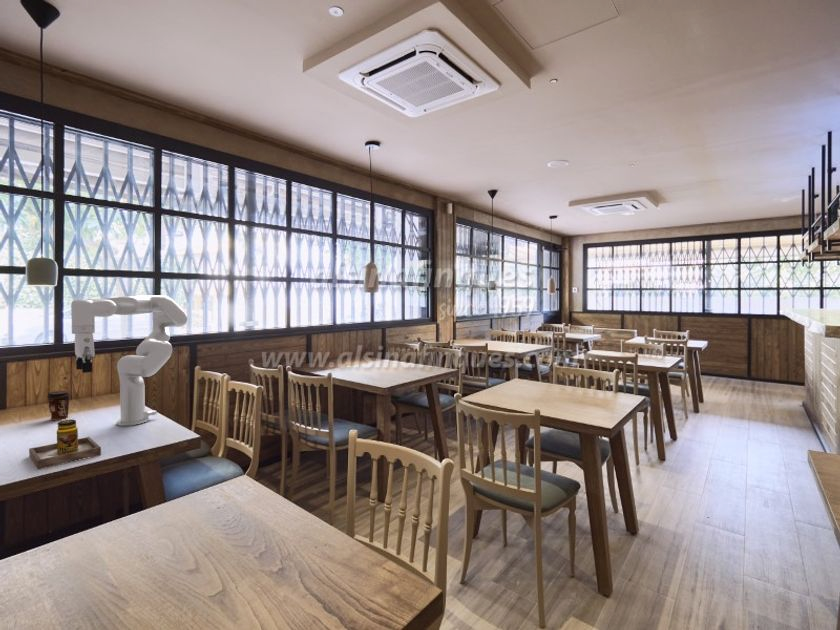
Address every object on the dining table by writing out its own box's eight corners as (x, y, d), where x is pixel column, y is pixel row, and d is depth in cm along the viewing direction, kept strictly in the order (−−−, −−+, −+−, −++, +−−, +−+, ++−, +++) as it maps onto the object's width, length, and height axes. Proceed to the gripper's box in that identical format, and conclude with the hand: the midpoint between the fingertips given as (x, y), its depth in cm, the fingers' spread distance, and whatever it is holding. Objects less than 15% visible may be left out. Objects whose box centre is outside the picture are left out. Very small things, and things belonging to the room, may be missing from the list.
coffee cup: (43, 420, 202) (42, 393, 202) (62, 415, 210) (62, 389, 209) (55, 422, 199) (54, 394, 199) (74, 417, 207) (74, 391, 206)
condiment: (67, 456, 157) (66, 424, 156) (46, 455, 158) (45, 423, 157) (84, 449, 164) (84, 418, 164) (64, 448, 165) (64, 417, 165)
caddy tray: (89, 444, 173) (89, 436, 173) (101, 455, 162) (100, 447, 162) (29, 456, 159) (29, 448, 159) (37, 469, 148) (37, 460, 148)
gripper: (100, 330, 175) (101, 372, 176) (89, 327, 186) (89, 367, 187) (77, 331, 170) (78, 374, 170) (67, 328, 181) (68, 369, 182)
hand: (84, 370), depth 179 cm, fingers open, 9 cm apart
